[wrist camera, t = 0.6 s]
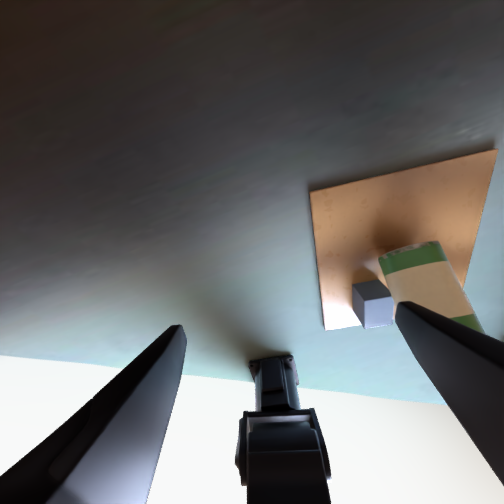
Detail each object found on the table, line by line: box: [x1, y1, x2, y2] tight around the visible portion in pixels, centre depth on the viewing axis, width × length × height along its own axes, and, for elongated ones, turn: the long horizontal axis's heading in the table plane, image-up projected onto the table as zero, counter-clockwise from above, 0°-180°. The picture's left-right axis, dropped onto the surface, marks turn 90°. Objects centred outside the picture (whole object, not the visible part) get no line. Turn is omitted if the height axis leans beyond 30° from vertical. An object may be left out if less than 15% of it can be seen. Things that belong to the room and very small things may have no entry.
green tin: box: [378, 241, 485, 334], centre depth 19 cm, size 9×5×9 cm, turn 13°
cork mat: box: [309, 149, 498, 331], centre depth 23 cm, size 18×16×1 cm
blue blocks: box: [352, 279, 394, 329], centre depth 23 cm, size 4×9×3 cm, turn 103°
